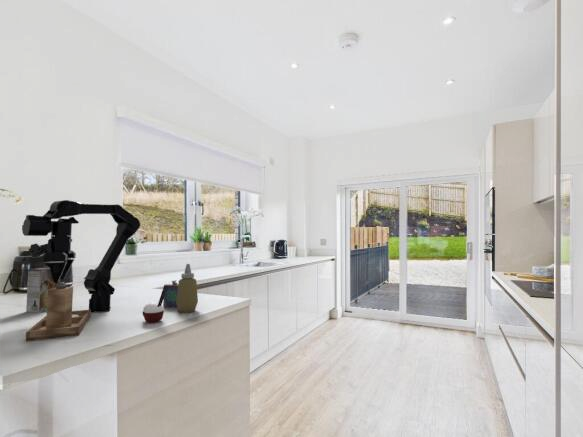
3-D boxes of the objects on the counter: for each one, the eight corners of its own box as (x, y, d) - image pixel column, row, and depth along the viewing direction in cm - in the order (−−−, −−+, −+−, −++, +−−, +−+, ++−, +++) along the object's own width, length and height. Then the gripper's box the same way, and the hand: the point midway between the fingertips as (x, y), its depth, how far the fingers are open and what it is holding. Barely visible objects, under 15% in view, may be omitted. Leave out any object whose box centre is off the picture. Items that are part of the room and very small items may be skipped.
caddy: (90, 316, 110) (91, 309, 111) (78, 335, 89) (79, 326, 90) (49, 320, 105) (49, 312, 105) (25, 341, 84) (26, 331, 84)
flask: (161, 306, 127) (162, 280, 127) (166, 305, 129) (167, 279, 130) (180, 308, 124) (181, 281, 124) (185, 307, 126) (186, 280, 127)
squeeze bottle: (177, 314, 114) (178, 265, 115) (174, 310, 121) (175, 263, 122) (199, 312, 117) (200, 264, 119) (195, 308, 125) (196, 262, 126)
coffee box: (48, 306, 126) (50, 266, 127) (61, 307, 125) (63, 267, 126) (25, 312, 117) (27, 269, 118) (39, 312, 116) (41, 269, 117)
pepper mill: (71, 326, 96) (73, 280, 97) (63, 330, 91) (66, 282, 92) (54, 327, 95) (56, 281, 96) (45, 331, 90) (48, 283, 91)
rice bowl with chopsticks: (139, 322, 105) (138, 286, 106) (157, 318, 110) (156, 283, 110) (151, 326, 99) (150, 288, 99) (170, 322, 103) (169, 285, 104)
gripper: (40, 236, 114) (38, 278, 113) (22, 235, 97) (19, 286, 96) (76, 236, 119) (74, 277, 118) (66, 236, 102) (63, 284, 101)
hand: (59, 280), depth 108 cm, fingers open, 9 cm apart
